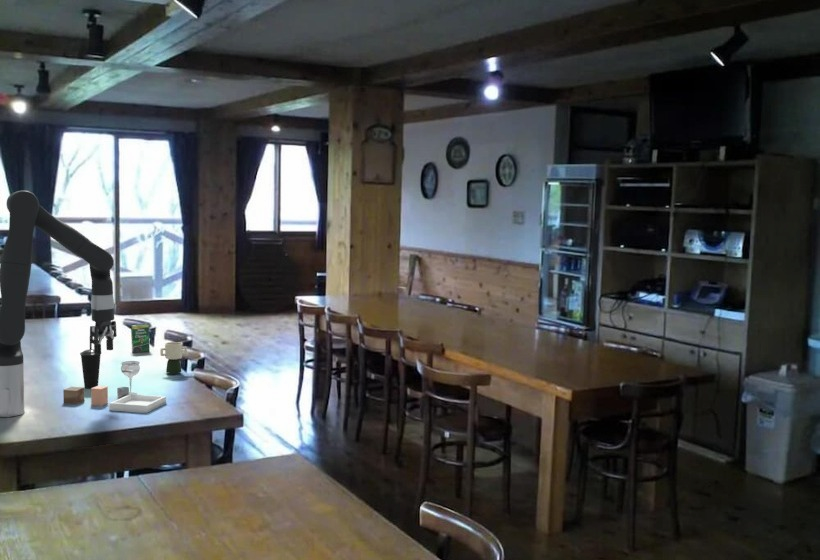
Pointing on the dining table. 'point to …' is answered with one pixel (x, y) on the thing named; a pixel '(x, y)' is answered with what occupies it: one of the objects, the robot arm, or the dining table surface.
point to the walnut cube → (73, 395)
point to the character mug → (173, 356)
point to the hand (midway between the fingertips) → (103, 352)
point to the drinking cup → (90, 367)
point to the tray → (137, 403)
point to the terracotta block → (99, 395)
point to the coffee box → (140, 338)
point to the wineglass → (130, 370)
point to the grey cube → (122, 392)
